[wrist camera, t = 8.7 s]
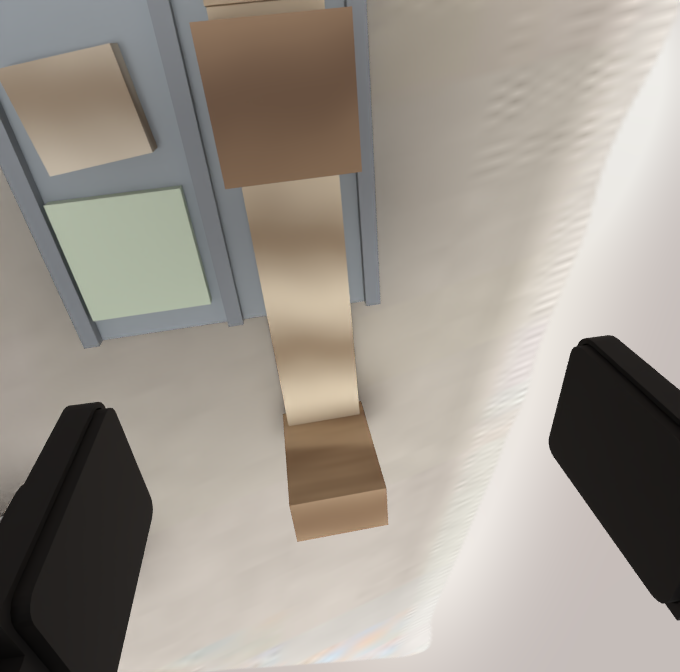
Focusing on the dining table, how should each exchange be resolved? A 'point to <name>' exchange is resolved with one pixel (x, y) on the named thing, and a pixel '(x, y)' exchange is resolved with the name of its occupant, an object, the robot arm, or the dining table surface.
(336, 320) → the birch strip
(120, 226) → the felt coaster
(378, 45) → the dining table surface
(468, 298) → the dining table surface
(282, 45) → the walnut block
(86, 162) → the broken strip
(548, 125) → the dining table surface
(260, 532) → the dining table surface
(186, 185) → the slate board
